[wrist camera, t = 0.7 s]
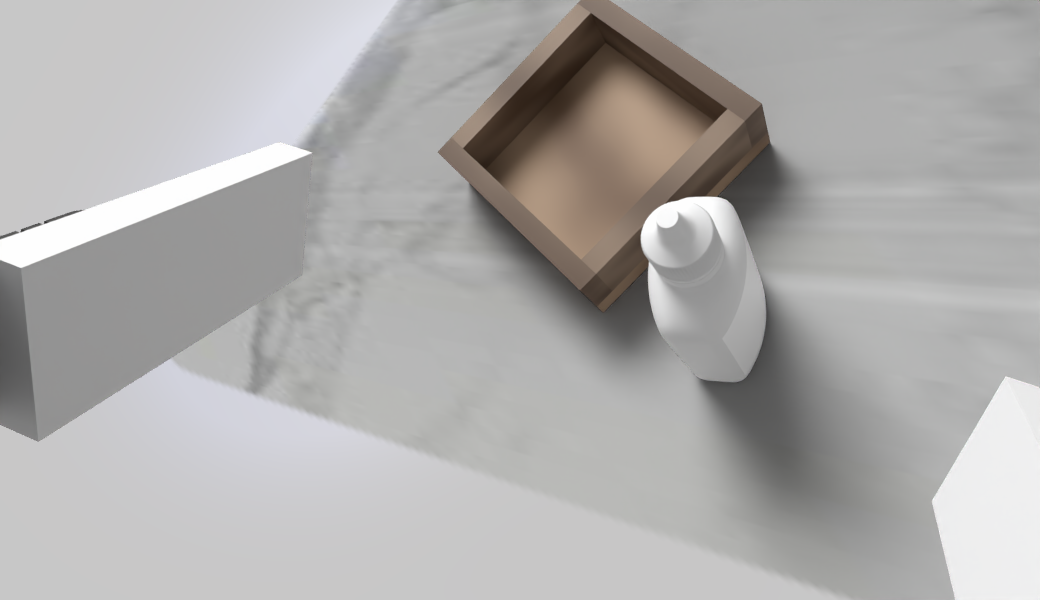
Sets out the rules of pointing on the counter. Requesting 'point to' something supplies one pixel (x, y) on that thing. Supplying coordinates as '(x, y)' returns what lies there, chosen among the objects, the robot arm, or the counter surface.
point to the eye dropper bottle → (705, 287)
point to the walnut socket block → (604, 143)
